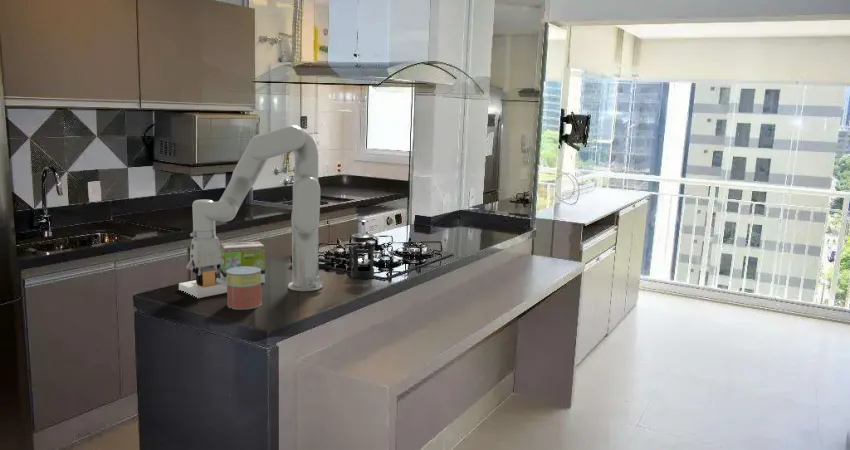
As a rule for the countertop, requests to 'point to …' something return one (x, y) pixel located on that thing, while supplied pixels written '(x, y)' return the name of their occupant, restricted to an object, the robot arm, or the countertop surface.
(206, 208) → the robot arm
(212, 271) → the plug
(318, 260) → the can opener
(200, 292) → the socket plate
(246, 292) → the canned food
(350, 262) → the french press
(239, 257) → the tea box
